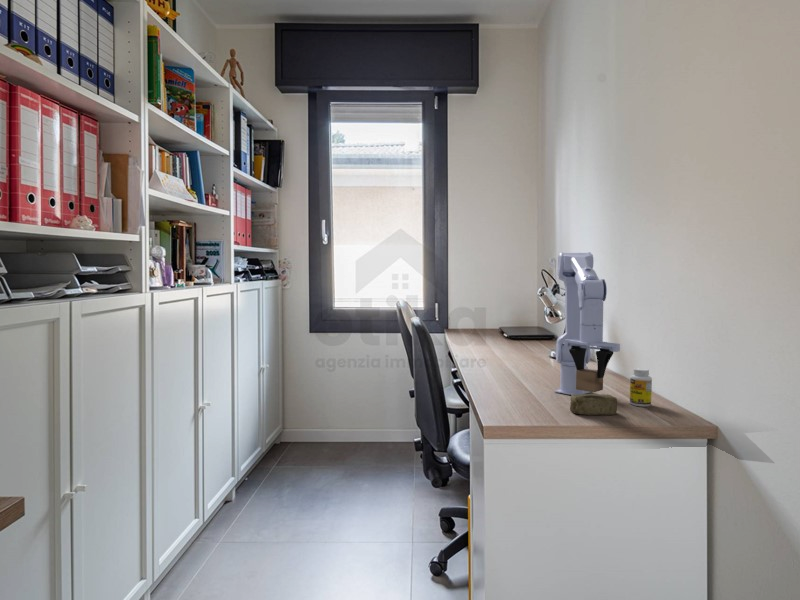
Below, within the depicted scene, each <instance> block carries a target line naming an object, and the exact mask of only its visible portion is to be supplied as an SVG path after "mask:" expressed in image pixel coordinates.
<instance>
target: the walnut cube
mask: <svg viewBox="0 0 800 600" xmlns="http://www.w3.org/2000/svg"><path fill="white" fill-rule="evenodd" d="M576 389H577V390H583V391H589V393H597V392H600V391H603V390H604V377H603V378H598V376H597V369H591V368H588V369H581V370H577V371H576Z"/></svg>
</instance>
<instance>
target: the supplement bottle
mask: <svg viewBox="0 0 800 600" xmlns="http://www.w3.org/2000/svg"><path fill="white" fill-rule="evenodd" d="M649 370H650V369H647V368H641V367H636V368H633V371H632V372H633V374H631V375H630V378H629V379H630V383H629V403H630V405H633V406H635V407H643V408H644V407H650V406H651V405H652V389H653V387H652V386H653V378H652V377H651V376H650V371H649Z"/></svg>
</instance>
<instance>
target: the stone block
mask: <svg viewBox="0 0 800 600" xmlns="http://www.w3.org/2000/svg"><path fill="white" fill-rule="evenodd" d="M569 406H570V407H569V410H570V412H571V413H573V414H577V415H581V416H583V415H584V416H612V415H616V414H617V411H618V398H617V397H615V396H613V395H611V394H596V393H594V394H593V393H586V394H572V395H570V405H569Z"/></svg>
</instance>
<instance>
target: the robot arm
mask: <svg viewBox="0 0 800 600" xmlns="http://www.w3.org/2000/svg"><path fill="white" fill-rule="evenodd" d="M557 276H558V280H560V281H561V282H563V284H564V304H565V305H564V307H565V308H564V309H565V311H564V312H565V313H564V314H565V315H564V317H565V319H564V321H565V323H564V326H565V332H564V333H563V334H561V335H560V336H559V337H557V339H556V346H555V360H556V362H557V363H558V364H559V365H560V375H559V377H560V381H559V385H560V386H559V389H555V390H554V392H555V393H559V394H565V395H570V396H571V395H572V394H590V392H589V391H583V390H577V389H576V371H577V370H581V369H589V368H588V366H587V364H589V363H590V362H591V354H592V353H591V351H592V350H597V351H595V355H596V361H597V362H596V363H597V369H596V370H597V376H598V378H603V379H604V376H605V374H606V369H607V366H608V365H609V361H611V358H612V356H613V355H614V353H615V352H616V353H617V352H620V349H621V343H616V342H610V341H609V342H607V341H603V340H604V302H605V301H606V299H607V293H608V289H607V282H606V280H605V279H603V278H601V279H600V278H599V277H598V275H597V273H596V271H595V270H594V255H593V254H592V252H559V254H558V256H557Z"/></svg>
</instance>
